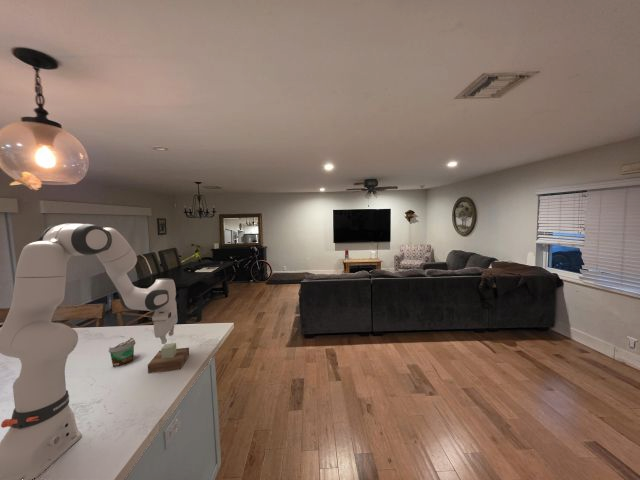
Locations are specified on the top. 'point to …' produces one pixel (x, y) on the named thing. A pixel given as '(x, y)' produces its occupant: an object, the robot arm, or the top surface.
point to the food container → (122, 353)
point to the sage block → (168, 350)
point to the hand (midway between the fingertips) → (167, 339)
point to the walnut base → (168, 361)
